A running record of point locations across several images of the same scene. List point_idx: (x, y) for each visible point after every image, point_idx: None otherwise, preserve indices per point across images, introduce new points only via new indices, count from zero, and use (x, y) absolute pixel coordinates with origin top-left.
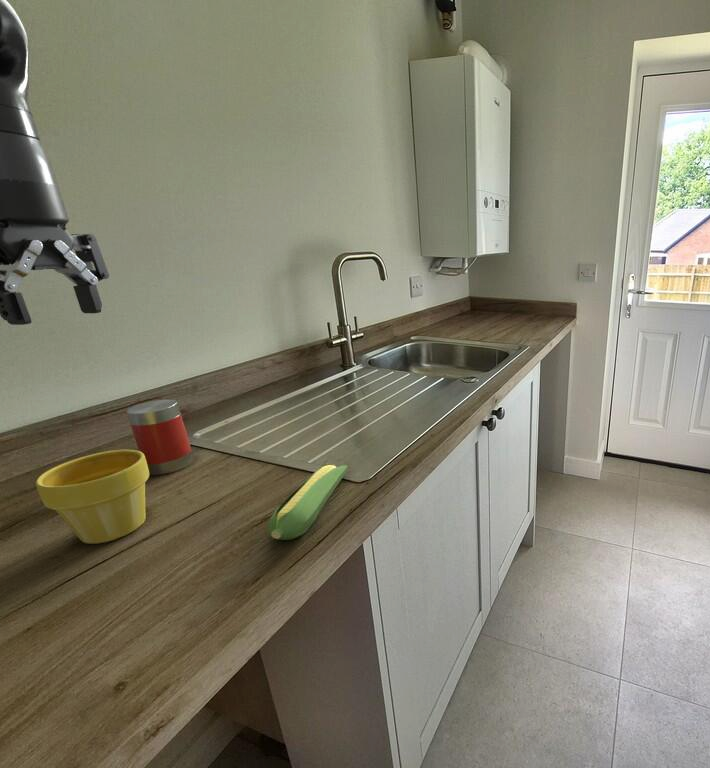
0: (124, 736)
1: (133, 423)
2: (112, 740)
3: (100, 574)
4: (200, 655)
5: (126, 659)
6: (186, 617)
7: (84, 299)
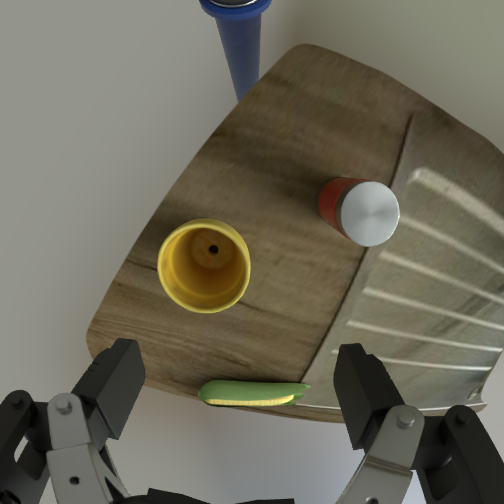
0: None
1: (337, 201)
2: None
3: None
4: None
5: None
6: (145, 361)
7: (350, 390)
